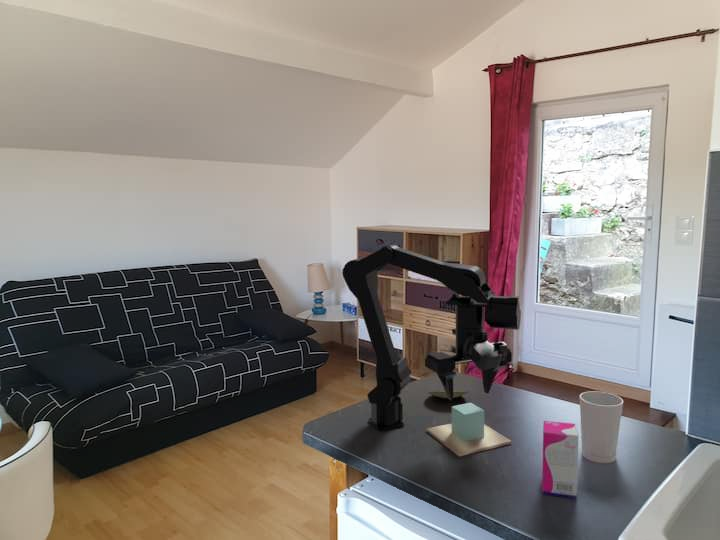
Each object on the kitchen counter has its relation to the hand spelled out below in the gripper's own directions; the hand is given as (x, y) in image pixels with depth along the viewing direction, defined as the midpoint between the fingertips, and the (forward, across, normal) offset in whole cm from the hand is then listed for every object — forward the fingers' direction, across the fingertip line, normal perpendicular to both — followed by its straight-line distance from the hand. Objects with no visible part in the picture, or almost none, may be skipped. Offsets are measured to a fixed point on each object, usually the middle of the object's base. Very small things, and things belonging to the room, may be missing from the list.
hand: (468, 396), depth 115 cm
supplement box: (+10, +3, -24) cm, 26 cm away
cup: (+10, +19, -18) cm, 28 cm away
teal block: (+9, 0, 0) cm, 9 cm away
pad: (+9, 0, 0) cm, 9 cm away
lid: (+10, +8, +20) cm, 24 cm away
